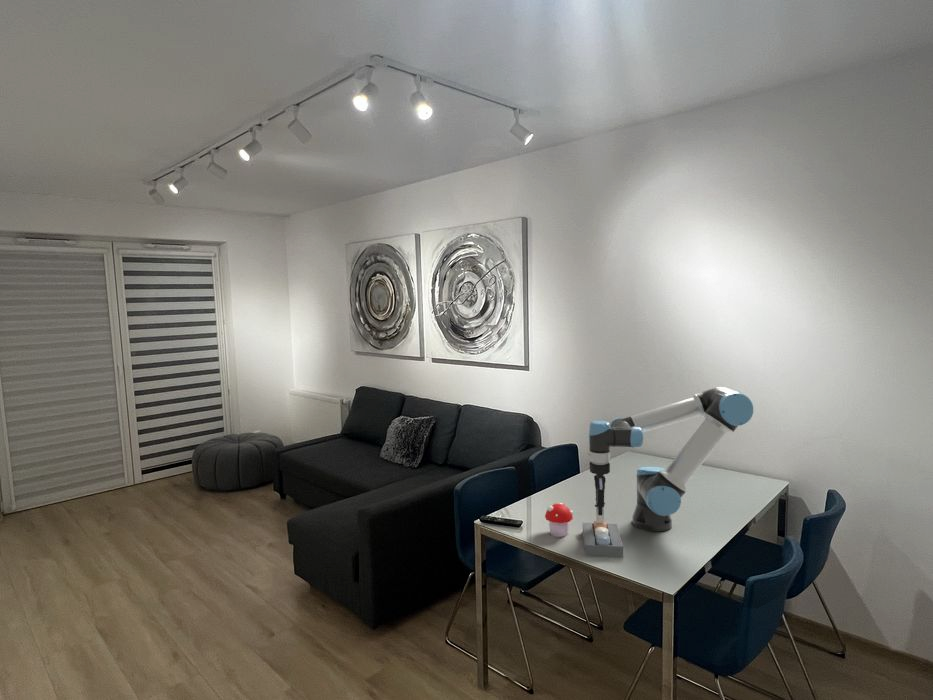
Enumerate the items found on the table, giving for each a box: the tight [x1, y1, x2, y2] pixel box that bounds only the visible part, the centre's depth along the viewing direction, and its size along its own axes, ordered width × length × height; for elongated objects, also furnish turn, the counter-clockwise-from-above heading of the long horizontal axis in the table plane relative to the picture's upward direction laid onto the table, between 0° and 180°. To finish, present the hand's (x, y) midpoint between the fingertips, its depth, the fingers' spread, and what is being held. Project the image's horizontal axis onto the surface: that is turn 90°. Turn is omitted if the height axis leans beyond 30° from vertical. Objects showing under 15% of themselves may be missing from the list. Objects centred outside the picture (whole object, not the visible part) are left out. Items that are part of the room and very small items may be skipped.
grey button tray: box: [582, 522, 624, 559], centre depth 199 cm, size 13×20×4 cm, turn 171°
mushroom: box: [544, 502, 574, 538], centre depth 209 cm, size 11×11×12 cm
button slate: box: [596, 534, 610, 545], centre depth 193 cm, size 5×5×4 cm
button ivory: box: [595, 527, 608, 537], centre depth 199 cm, size 5×5×4 cm
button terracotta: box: [593, 520, 608, 530], centre depth 206 cm, size 5×5×4 cm
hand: (600, 522), depth 205 cm, fingers closed
